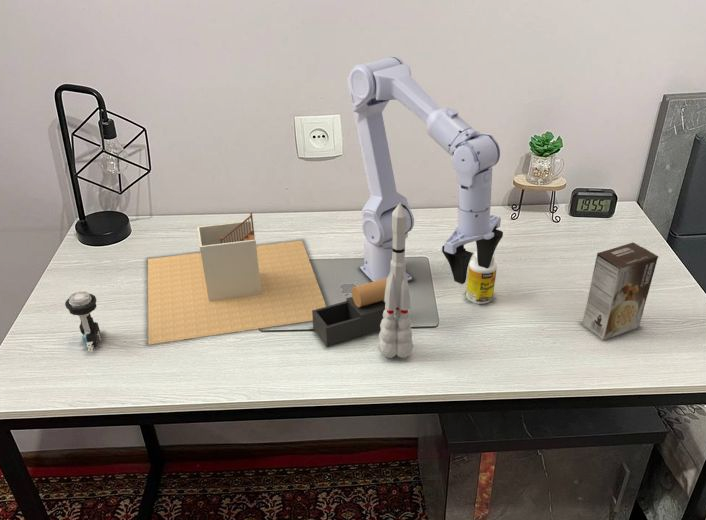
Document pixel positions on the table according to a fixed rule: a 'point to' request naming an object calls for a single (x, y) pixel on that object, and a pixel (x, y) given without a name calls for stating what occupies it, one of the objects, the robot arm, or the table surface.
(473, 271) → the supplement bottle
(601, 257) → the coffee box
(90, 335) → the push button
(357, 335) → the caddy
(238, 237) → the staircase
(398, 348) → the rocket model
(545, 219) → the table surface
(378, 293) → the paper roll
